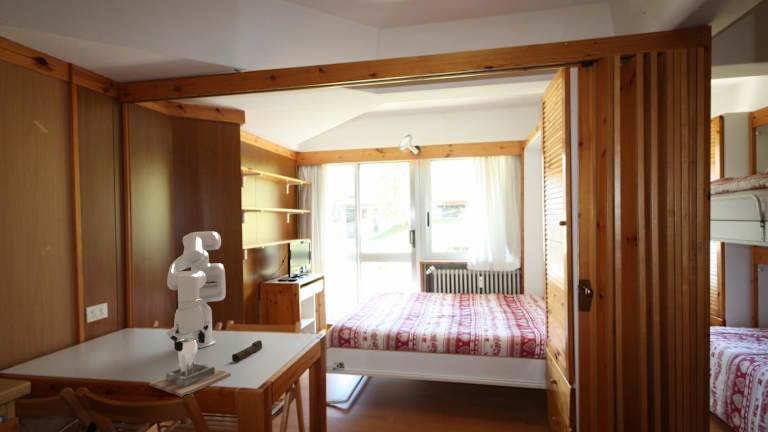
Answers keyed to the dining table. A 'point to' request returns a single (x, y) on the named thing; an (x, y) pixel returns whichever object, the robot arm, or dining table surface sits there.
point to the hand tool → (247, 351)
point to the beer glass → (188, 356)
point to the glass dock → (189, 380)
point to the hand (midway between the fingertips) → (190, 346)
